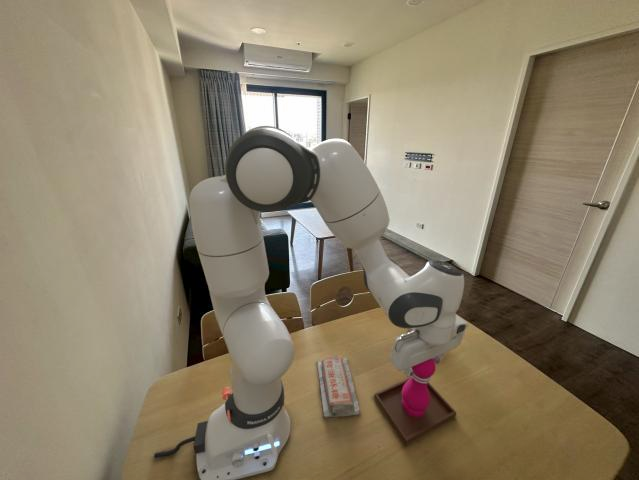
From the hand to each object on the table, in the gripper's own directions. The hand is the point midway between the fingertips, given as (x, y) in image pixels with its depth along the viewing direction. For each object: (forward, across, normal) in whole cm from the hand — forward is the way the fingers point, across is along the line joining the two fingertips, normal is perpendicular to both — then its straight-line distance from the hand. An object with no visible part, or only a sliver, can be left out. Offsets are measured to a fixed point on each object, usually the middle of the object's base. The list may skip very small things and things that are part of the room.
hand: (422, 368), depth 65 cm
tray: (+15, 0, 0) cm, 15 cm away
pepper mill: (+15, 0, 0) cm, 15 cm away
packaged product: (+15, -17, +14) cm, 27 cm away
